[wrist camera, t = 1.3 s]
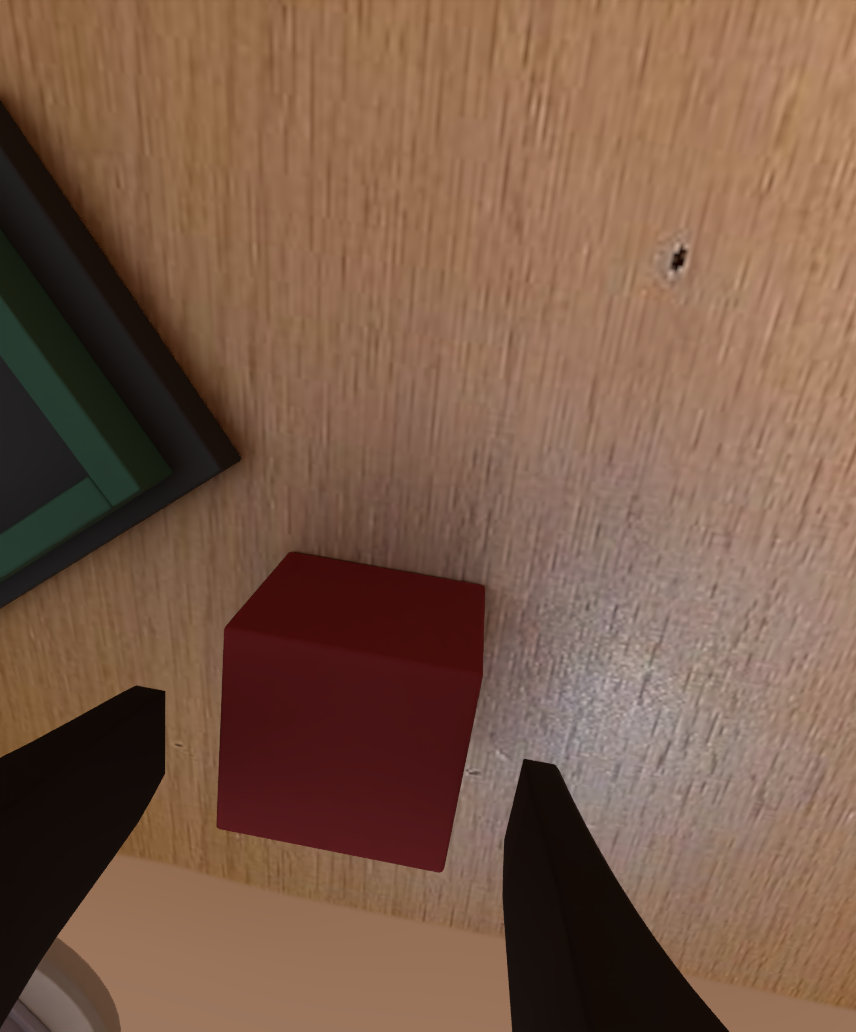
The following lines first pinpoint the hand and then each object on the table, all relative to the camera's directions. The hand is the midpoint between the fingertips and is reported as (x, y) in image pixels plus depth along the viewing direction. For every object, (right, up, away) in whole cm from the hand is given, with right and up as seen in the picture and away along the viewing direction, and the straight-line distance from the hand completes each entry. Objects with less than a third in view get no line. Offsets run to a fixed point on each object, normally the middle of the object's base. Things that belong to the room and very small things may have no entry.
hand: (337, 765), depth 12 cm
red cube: (0, +1, +4) cm, 4 cm away
